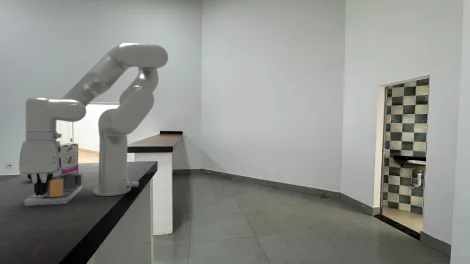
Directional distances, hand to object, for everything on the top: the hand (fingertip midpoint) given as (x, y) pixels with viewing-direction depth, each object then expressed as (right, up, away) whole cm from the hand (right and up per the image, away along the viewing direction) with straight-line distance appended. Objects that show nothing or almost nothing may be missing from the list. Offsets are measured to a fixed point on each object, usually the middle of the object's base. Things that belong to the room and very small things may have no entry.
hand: (41, 194), depth 75 cm
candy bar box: (-10, -2, +24) cm, 27 cm away
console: (0, -3, +7) cm, 8 cm away
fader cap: (+4, -1, +1) cm, 4 cm away
